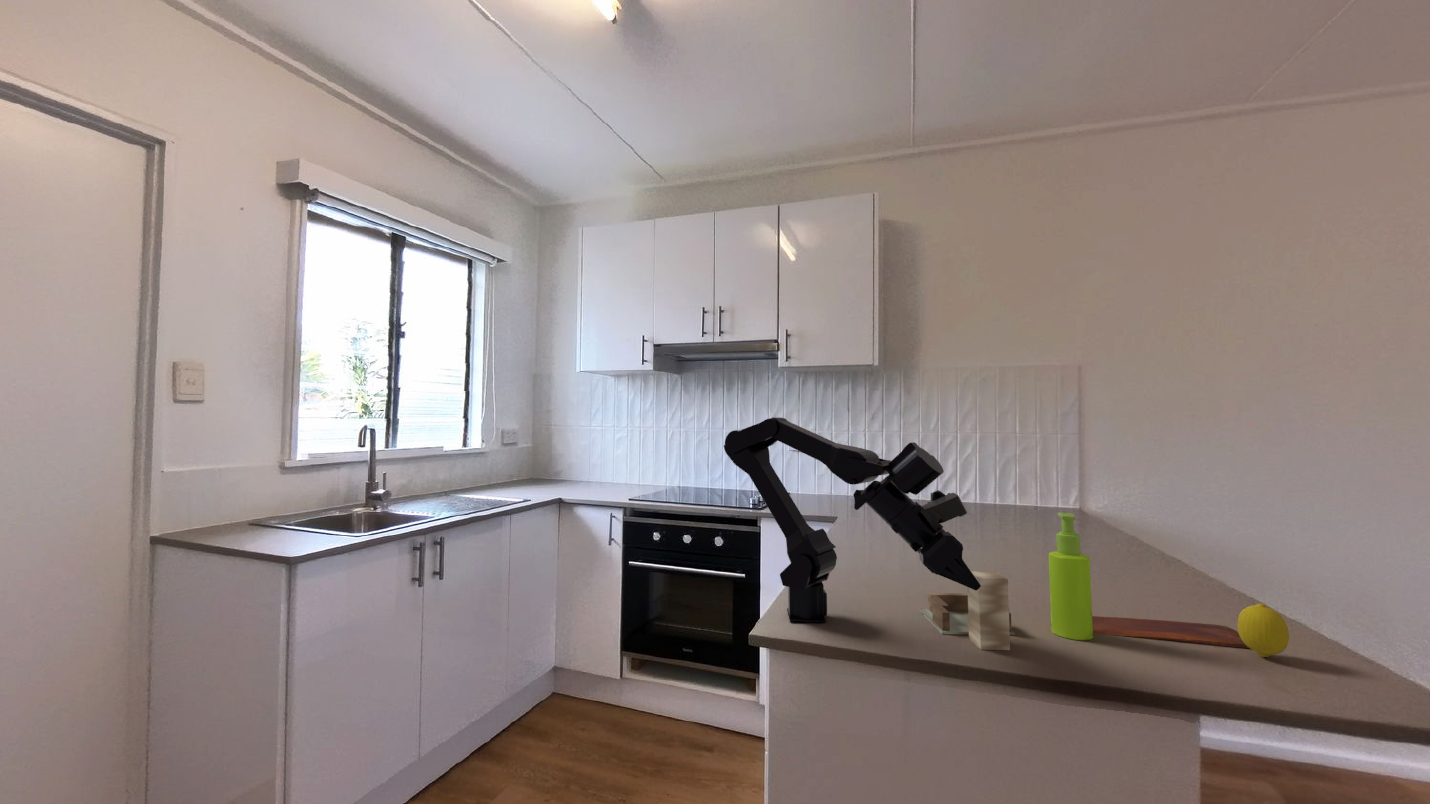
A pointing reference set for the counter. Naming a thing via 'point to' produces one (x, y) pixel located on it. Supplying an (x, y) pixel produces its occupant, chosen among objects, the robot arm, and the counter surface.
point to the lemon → (1263, 630)
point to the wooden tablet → (1168, 631)
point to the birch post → (989, 612)
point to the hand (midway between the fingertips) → (970, 580)
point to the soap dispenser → (1070, 585)
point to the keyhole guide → (950, 613)
